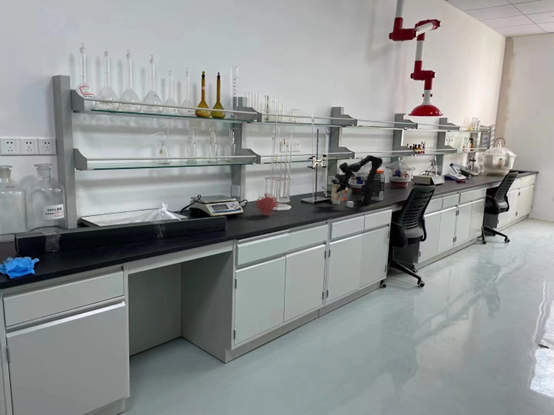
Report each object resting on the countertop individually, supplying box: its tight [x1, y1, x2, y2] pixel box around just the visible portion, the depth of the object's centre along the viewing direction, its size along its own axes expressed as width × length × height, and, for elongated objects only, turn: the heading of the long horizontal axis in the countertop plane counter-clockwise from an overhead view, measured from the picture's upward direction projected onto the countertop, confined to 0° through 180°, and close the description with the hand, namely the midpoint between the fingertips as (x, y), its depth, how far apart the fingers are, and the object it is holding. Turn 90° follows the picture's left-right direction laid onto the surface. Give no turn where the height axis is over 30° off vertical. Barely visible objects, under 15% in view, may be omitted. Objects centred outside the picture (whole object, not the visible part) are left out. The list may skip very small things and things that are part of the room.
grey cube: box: [346, 200, 354, 208], centre depth 326 cm, size 4×4×4 cm
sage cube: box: [331, 199, 341, 205], centre depth 337 cm, size 5×5×4 cm
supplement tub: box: [366, 169, 386, 202], centre depth 364 cm, size 16×16×26 cm
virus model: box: [255, 193, 279, 216], centre depth 279 cm, size 15×15×15 cm
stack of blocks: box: [331, 188, 351, 203], centre depth 353 cm, size 21×6×12 cm, turn 145°
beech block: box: [330, 184, 340, 201], centre depth 324 cm, size 4×4×12 cm
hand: (334, 191), depth 323 cm, fingers closed on beech block, 4 cm apart
